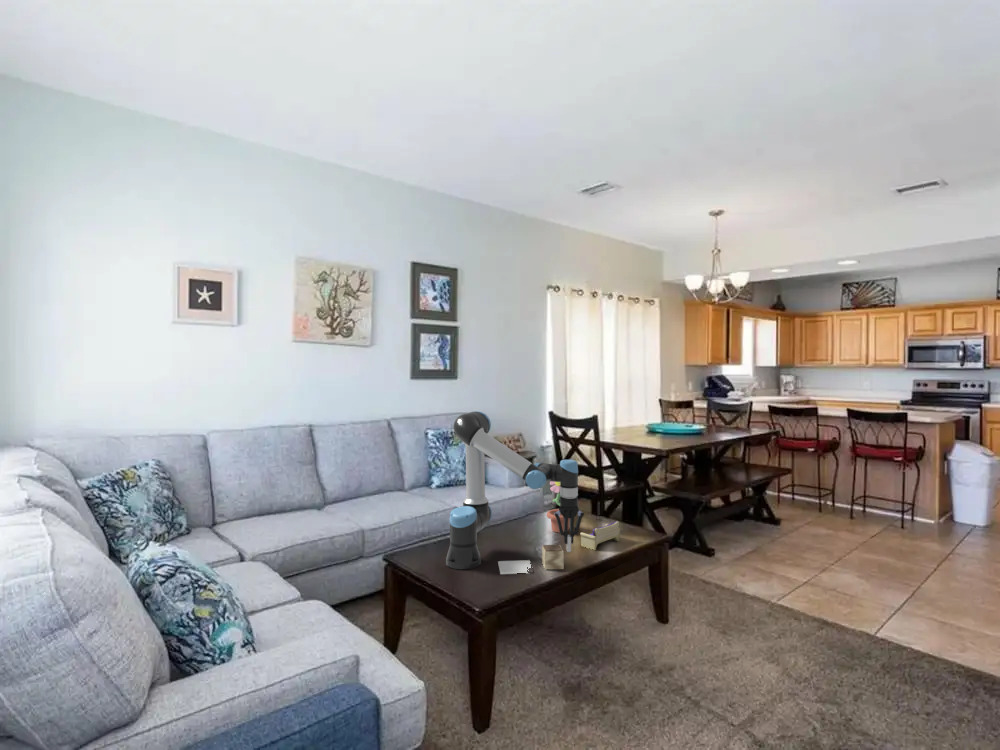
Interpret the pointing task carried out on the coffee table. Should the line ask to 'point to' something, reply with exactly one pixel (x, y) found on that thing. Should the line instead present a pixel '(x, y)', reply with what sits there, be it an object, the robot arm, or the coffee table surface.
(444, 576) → the coffee table surface
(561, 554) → the maple cube
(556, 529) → the decorative flower
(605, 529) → the toy sofa
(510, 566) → the grey mat
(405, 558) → the coffee table surface
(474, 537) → the robot arm
